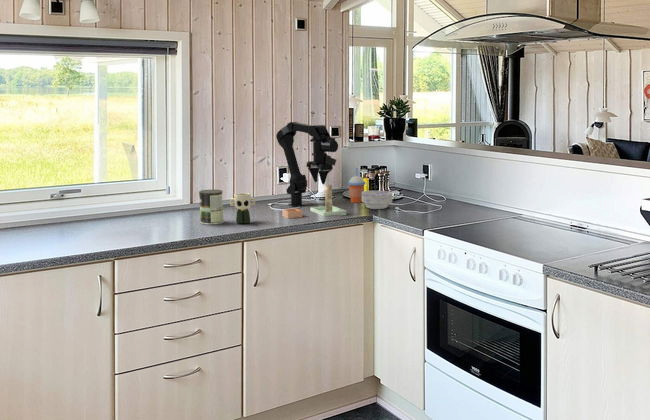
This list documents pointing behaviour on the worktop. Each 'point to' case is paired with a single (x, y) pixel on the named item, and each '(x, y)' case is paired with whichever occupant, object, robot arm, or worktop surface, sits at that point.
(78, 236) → the worktop surface
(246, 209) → the character mug
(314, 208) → the sage tray
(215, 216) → the coffee can
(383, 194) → the paper bowls
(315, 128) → the robot arm
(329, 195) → the dowel
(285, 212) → the peach square box
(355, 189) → the cup with straw
